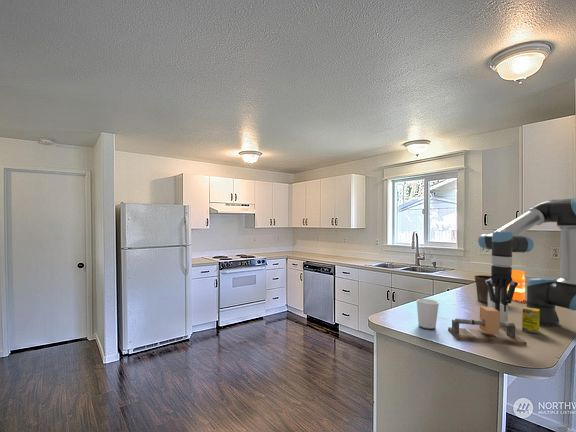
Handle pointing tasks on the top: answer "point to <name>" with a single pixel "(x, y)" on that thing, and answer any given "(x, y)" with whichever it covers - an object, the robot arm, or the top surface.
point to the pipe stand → (481, 336)
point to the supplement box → (530, 320)
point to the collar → (490, 320)
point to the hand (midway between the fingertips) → (500, 318)
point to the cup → (427, 313)
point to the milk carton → (492, 304)
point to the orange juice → (520, 288)
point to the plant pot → (482, 287)
